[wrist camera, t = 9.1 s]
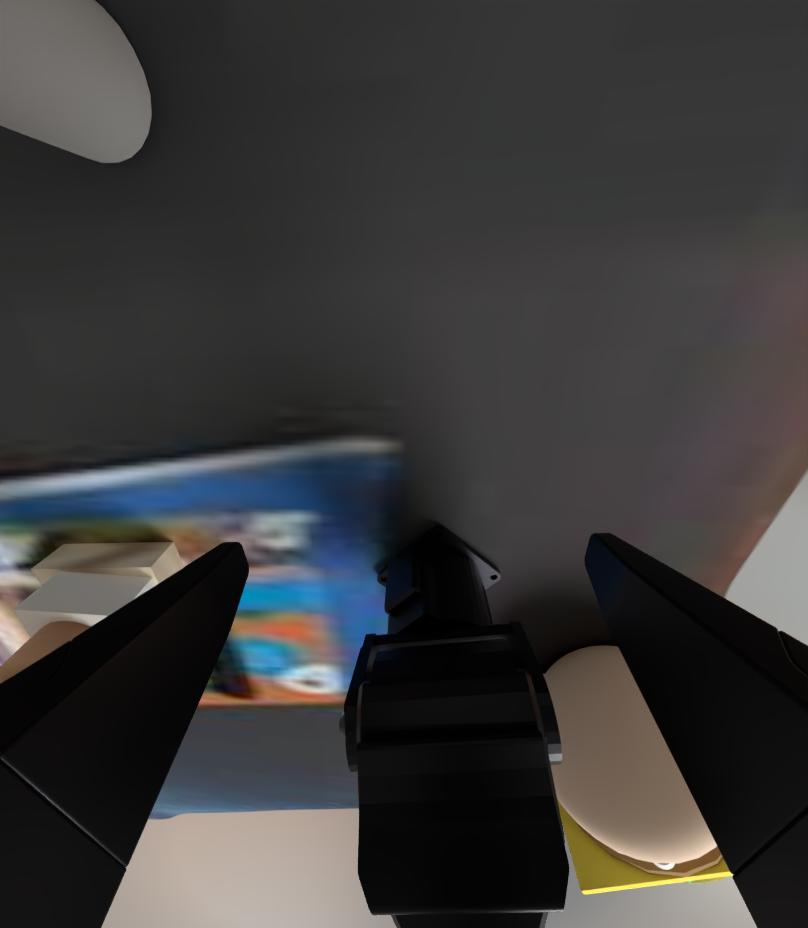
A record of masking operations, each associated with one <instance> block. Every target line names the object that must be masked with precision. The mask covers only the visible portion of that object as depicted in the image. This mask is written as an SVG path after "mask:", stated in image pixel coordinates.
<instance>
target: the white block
mask: <svg viewBox="0 0 808 928" xmlns="http://www.w3.org/2000/svg"><path fill="white" fill-rule="evenodd" d="M154 586H155V583H154V581H153V578H152V577H140V576H125V575H109V574H94V573H79V572H64V571H59V572H57V573H56V574H55V575H54V576H53V577H51V578H50V579H49V580H48V581H47V582H45V583H44V584H43V585H42V586H41V587H40V588H38V589H37V590H36V591H35V592H34V593H32V594H31V595H30V596H29V597H28V598H26V599H25V600H24V601H23V602H22V603H20V604H19V605H18V606H17V607H16V608H14V609H13V611H14V612H15V614H16V615H17V617H18V618H19V620H20V621H21V623H22V624H23V626H24V627H25V629H26V630H27V632H28V634H29V635H30V637H32V636H33V635H34V634H35V633H36V632H38V631H39V630H40V629H41V628H42V627H43V626H44V625H46V624H48V623H51V622H57V621H69V622H76V623H81V624H84V625H87V626H90V627H91V626H93V625H94V624H96V623H98V622H99V621H101V620H102V619H104V618H105V617H107V616H109V615H110V614H112V613H113V612H115V611H116V610H118V609H120V608H121V607H123V606H124V605H126V604H127V603H129V602H130V601H132V600H134V599H135V598H137V597H138V596H140V595H141V594H143V593H145V592H146V591H148V590H149V589H151V588H152V587H154Z"/></svg>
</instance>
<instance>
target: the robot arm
mask: <svg viewBox="0 0 808 928" xmlns="http://www.w3.org/2000/svg"><path fill="white" fill-rule="evenodd" d="M437 532H441V534H436V533H437ZM585 567H586V570H587V572H588V575H589V578H590V580H591V583H592V586H593V589H594V591H595V594H596V597H597V599H598V602H599V605H600V607H601V610H602V613H603V615H604V618H605V620H606V623H607V625H608V627H609V629H610V632H611V634H612V636H613V638H614V640H615V642H616V644H617V646H618V648H619V650H620V652H621V654H622V656H623V658H624V660H625V662H626V664H627V666H628V668H629V670H630V672H631V674H632V676H633V678H634V680H635V682H636V684H637V686H638V688H639V690H640V692H641V694H642V696H643V698H644V700H645V702H646V704H647V706H648V708H649V710H650V712H651V714H652V716H653V718H654V720H655V722H656V724H657V726H658V728H659V730H660V732H661V734H662V736H663V738H664V740H665V742H666V744H667V746H668V748H669V750H670V752H671V754H672V756H673V758H674V760H675V762H676V764H677V766H678V768H679V770H680V772H681V774H682V776H683V778H684V780H685V782H686V784H687V786H688V788H689V790H690V792H691V794H692V796H693V798H694V800H695V802H696V804H697V806H698V809H699V811H700V813H701V815H702V817H703V819H704V821H705V823H706V825H707V827H708V829H709V831H710V833H711V835H712V837H713V839H714V841H715V843H716V845H717V847H718V849H719V851H720V853H721V855H722V857H723V859H724V861H725V863H726V865H727V867H728V869H729V871H730V872H731V874H733V879H734V881H735V884H736V886H737V888H738V890H739V892H740V894H741V896H742V897H743V900H744V902H745V904H746V906H747V908H748V910H749V912H750V913H751V916H752V918H753V920H754V922H755V924H756V926H757V928H808V646H807V645H806V644H803V643H802V642H800V641H799V640H797V639H795V638H793V637H792V636H790V635H788V634H786V633H785V632H783V631H778V629H777V628H776V627H774V626H772V625H770V624H769V623H767V622H765V621H763V620H762V619H760V618H757V617H756V616H755V615H753V614H751V613H749V612H748V611H746V610H744V609H742V608H741V607H739V606H737V605H735V604H733V603H732V602H730V601H728V600H727V599H725V598H723V597H721V596H720V595H718V594H716V593H714V592H713V591H711V590H709V589H707V588H706V587H704V586H702V585H700V584H699V583H697V582H695V581H693V580H692V579H690V578H688V577H686V576H685V575H683V574H681V573H679V572H678V571H676V570H674V569H672V568H671V567H669V566H667V565H665V564H664V563H662V562H660V561H658V560H657V559H655V558H653V557H651V556H650V555H648V554H646V553H644V552H642V551H641V550H639V549H637V548H635V547H634V546H632V545H630V544H628V543H627V542H625V541H623V540H621V539H620V538H618V537H616V536H614V535H613V534H611V533H594V534H592V535H591V536H590V539H589V543H588V547H587V551H586V555H585ZM248 573H249V565H248V562H247V559H246V556H245V553H244V550H243V547H242V545H241V544H240V543H239V542H224V543H221V544H220V545H218V546H217V547H215V548H214V549H212V550H210V551H209V552H207V553H206V554H204V555H203V556H201V557H199V558H198V559H196V560H195V561H193V562H192V563H190V564H188V565H187V566H185V567H184V568H182V569H181V570H179V571H178V572H176V573H174V574H173V575H171V576H170V577H168V578H167V579H165V580H163V581H162V582H160V583H159V584H157V585H156V586H154V587H152V588H151V589H149V590H148V591H146V592H145V593H143V594H141V595H140V596H138V597H137V598H135V599H134V600H132V601H130V602H129V603H127V604H126V605H124V606H123V607H121V608H120V609H118V610H116V611H115V612H113V613H112V614H110V615H109V616H107V617H105V618H104V619H102V620H101V621H99V622H98V623H96V624H94V625H93V626H91V627H90V628H88V629H87V630H85V631H83V632H82V633H80V634H79V635H77V636H76V637H74V638H73V640H72V641H68V642H66V643H65V644H63V645H61V646H60V647H58V648H57V649H55V650H54V651H52V652H51V653H49V654H47V655H46V656H44V657H43V658H41V659H39V660H38V661H36V662H35V663H33V664H31V665H30V666H28V667H27V668H25V669H23V670H22V671H20V672H18V673H17V674H15V675H14V676H12V677H10V678H8V679H7V680H5V681H3V682H2V683H0V928H101V927H102V924H103V922H104V920H105V917H106V915H107V913H108V911H109V908H110V906H111V904H112V902H113V899H114V897H115V894H116V892H117V890H118V888H119V885H120V883H121V881H122V878H123V876H124V874H125V872H126V868H125V867H127V866H128V864H129V862H130V859H131V857H132V855H133V852H134V850H135V848H136V846H137V843H138V841H139V839H140V837H141V834H142V832H143V830H144V827H145V825H146V823H147V821H148V818H149V816H150V814H151V811H152V809H153V807H154V804H155V802H156V800H157V798H158V795H159V793H160V791H161V788H162V786H163V784H164V782H165V779H166V777H167V775H168V772H169V770H170V768H171V765H172V763H173V761H174V759H175V756H176V754H177V752H178V749H179V747H180V745H181V743H182V740H183V738H184V736H185V733H186V731H187V729H188V727H189V724H190V722H191V720H192V717H193V715H194V713H195V710H196V708H197V706H198V704H199V701H200V699H201V697H202V694H203V692H204V690H205V688H206V685H207V683H208V681H209V678H210V676H211V674H212V671H213V669H214V667H215V665H216V662H217V660H218V658H219V655H220V653H221V651H222V649H223V646H224V644H225V642H226V639H227V637H228V635H229V632H230V630H231V627H232V624H233V621H234V618H235V615H236V612H237V609H238V605H239V602H240V599H241V596H242V593H243V590H244V587H245V583H246V580H247V577H248ZM491 575H494V576H491ZM383 577H386V578H383ZM500 579H501V575H500V571H499V570H498V569H497V568H496V567H494V566H493V565H492V564H491V563H489V562H488V561H487V560H485V559H484V558H483V557H482V556H480V555H479V554H478V553H476V552H475V551H474V550H473V549H471V548H470V547H469V546H467V545H466V544H465V543H464V542H462V541H461V540H460V539H458V538H457V537H456V536H455V535H453V534H452V533H451V532H449V531H448V530H447V529H446V528H444V527H443V526H439V525H438V526H434V527H433V528H432V529H430V530H429V531H428V532H427V533H426V534H424V535H423V536H422V537H421V538H420V539H418V540H417V541H416V542H414V543H411V544H410V545H409V546H407V547H406V548H405V549H404V550H403V551H401V552H400V553H399V554H398V555H397V556H395V557H394V558H393V559H392V560H391V561H390V562H389V563H388V565H387V566H386V567H385V568H384V569H382V570H381V571H380V572H379V573H378V579H377V580H378V582H379V583H380V584H382V585H383V586H385V587H386V595H385V612H386V613H387V614H389V619H388V633H387V634H383V635H376V634H366V636H365V640H364V643H363V646H362V647H361V649H360V653H359V656H358V659H357V663H356V666H355V670H354V673H353V676H352V680H351V683H350V687H349V690H348V693H347V697H346V700H345V704H344V712H343V714H342V716H341V718H340V723H339V729H340V732H341V734H342V735H343V737H344V738H345V739H346V754H347V760H348V766H349V769H350V772H351V773H352V774H353V775H358V794H359V845H358V875H359V879H360V882H361V885H362V888H363V892H364V895H365V898H366V901H367V904H368V907H369V910H370V912H371V913H372V915H391V916H392V918H393V920H394V922H395V925H396V927H397V928H544V927H545V923H546V919H547V915H548V912H562V911H563V909H564V905H565V899H566V891H567V884H568V876H569V864H568V858H567V854H566V850H565V846H564V843H565V840H564V832H563V826H562V821H561V816H560V811H559V806H558V801H557V795H556V790H555V785H554V780H553V775H552V770H551V765H561V763H562V746H561V739H560V733H559V728H558V723H557V718H556V714H555V710H554V706H553V702H552V699H551V695H550V692H549V689H548V686H547V683H546V680H545V678H544V675H543V673H542V670H541V668H540V666H539V664H538V661H537V659H536V657H535V655H534V652H533V650H532V648H531V646H530V643H529V641H528V639H527V636H526V634H525V632H524V630H523V627H522V625H521V623H520V621H510V622H509V623H507V624H495V625H493V621H492V617H491V613H490V609H489V604H488V600H487V596H486V592H485V590H486V589H488V588H489V587H490V586H492V585H493V584H495V583H496V582H498V581H499V580H500Z"/></svg>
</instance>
